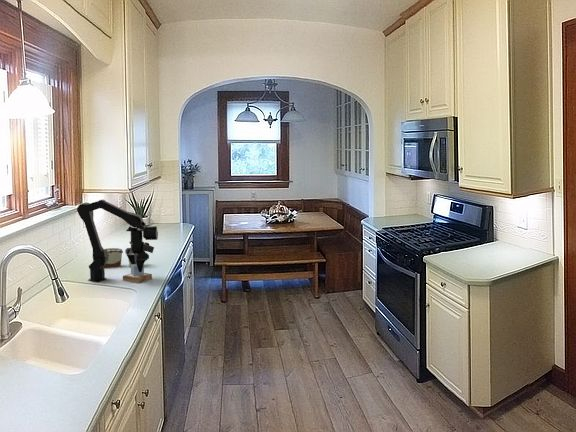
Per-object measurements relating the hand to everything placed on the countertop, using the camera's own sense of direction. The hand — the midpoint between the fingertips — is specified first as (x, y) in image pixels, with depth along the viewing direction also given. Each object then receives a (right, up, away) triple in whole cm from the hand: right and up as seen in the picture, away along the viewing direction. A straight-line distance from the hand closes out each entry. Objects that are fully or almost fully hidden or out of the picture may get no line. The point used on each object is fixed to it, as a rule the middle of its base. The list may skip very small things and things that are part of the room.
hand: (137, 270), depth 257 cm
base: (0, -5, +1) cm, 5 cm away
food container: (-23, -1, +28) cm, 36 cm away
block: (0, -2, 0) cm, 2 cm away
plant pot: (-10, -1, +29) cm, 31 cm away
